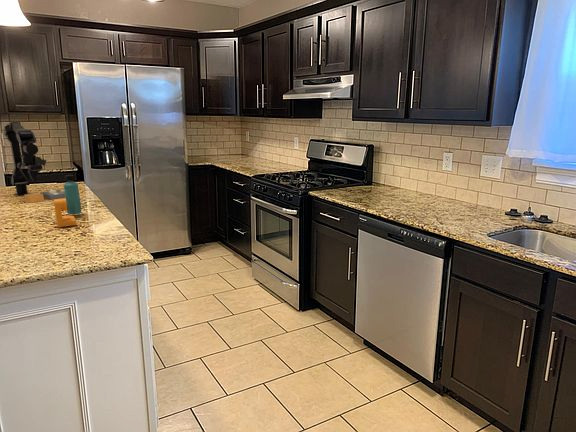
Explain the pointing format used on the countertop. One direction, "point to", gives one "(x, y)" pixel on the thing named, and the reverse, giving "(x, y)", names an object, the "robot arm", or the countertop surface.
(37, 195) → the cap
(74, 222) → the bracket
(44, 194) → the panel
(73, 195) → the beverage bottle
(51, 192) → the breaker button
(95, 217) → the countertop surface
